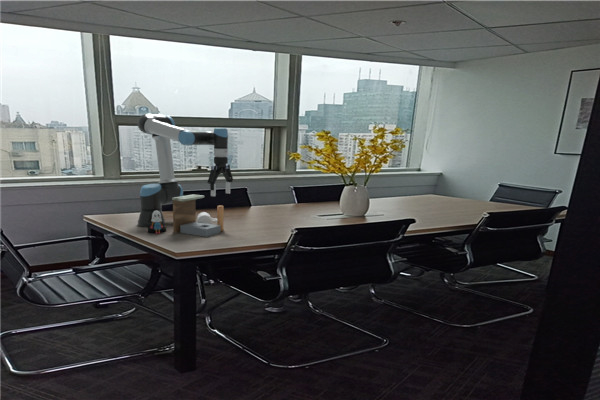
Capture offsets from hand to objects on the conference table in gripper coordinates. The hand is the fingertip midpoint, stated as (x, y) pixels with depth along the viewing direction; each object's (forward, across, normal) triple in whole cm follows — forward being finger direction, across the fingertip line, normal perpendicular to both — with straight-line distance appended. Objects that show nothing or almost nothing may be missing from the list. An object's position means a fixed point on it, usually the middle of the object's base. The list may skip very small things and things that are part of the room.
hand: (220, 194), depth 245 cm
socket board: (+20, -10, +6) cm, 23 cm away
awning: (+20, -10, +14) cm, 27 cm away
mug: (+21, +4, +12) cm, 24 cm away
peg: (+20, 0, 0) cm, 20 cm away
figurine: (+21, -22, +26) cm, 40 cm away
